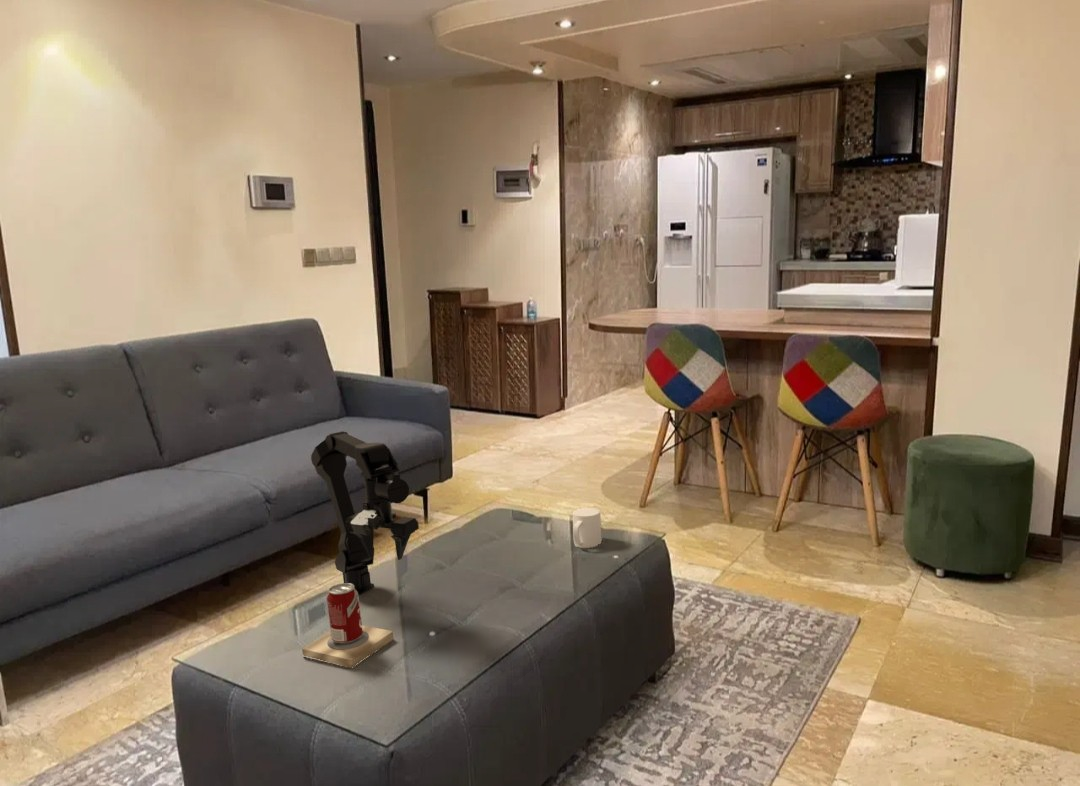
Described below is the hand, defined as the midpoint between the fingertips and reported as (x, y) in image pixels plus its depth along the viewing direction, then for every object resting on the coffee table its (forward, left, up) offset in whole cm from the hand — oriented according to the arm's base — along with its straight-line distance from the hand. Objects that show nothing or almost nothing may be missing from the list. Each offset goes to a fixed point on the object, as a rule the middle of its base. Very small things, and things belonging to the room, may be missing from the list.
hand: (385, 557), depth 198 cm
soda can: (+5, -21, -11) cm, 24 cm away
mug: (+28, +55, -13) cm, 63 cm away
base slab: (+5, -21, -13) cm, 25 cm away
